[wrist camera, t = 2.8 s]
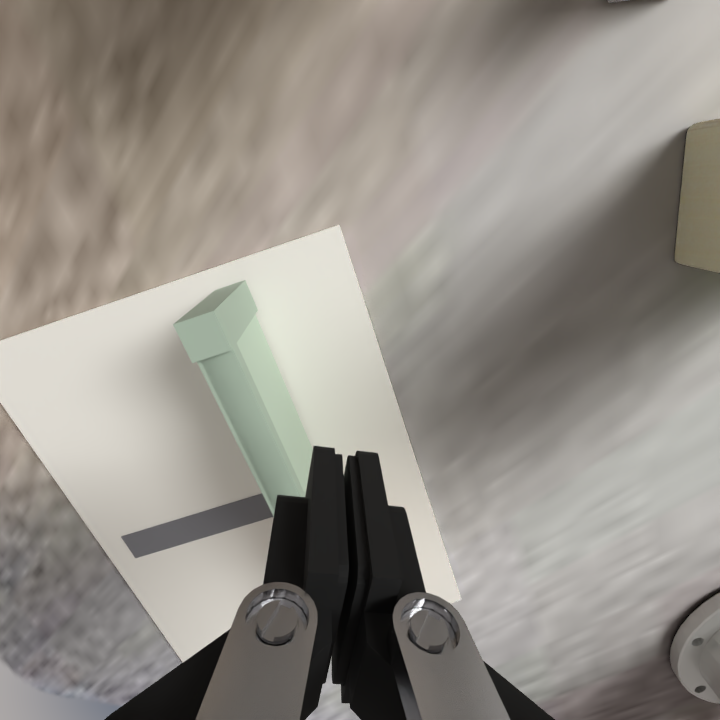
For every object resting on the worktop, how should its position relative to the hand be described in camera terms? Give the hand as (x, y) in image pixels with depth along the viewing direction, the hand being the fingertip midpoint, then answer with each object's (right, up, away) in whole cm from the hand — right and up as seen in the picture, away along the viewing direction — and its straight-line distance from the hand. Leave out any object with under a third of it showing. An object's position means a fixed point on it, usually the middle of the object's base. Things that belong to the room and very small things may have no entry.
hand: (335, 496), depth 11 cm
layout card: (-6, -4, +15) cm, 17 cm away
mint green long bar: (-4, +2, +12) cm, 13 cm away
